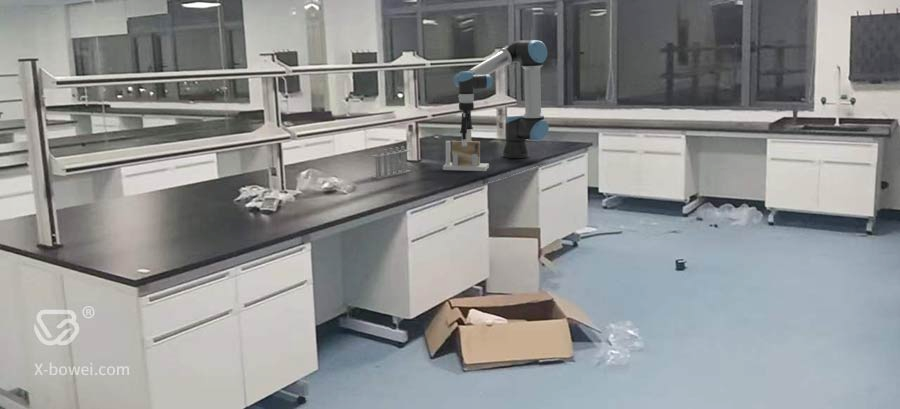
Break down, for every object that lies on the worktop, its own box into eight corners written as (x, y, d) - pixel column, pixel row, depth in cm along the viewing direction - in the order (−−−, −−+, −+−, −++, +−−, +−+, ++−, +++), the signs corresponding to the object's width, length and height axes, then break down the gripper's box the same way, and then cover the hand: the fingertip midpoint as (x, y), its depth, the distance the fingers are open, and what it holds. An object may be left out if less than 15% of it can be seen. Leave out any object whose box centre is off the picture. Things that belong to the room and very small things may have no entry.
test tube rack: (378, 179, 362) (377, 151, 359) (371, 178, 364) (370, 151, 362) (410, 171, 382) (410, 145, 379) (404, 171, 384) (403, 145, 382)
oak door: (453, 163, 393) (453, 140, 390) (479, 164, 390) (480, 141, 388) (451, 165, 389) (451, 141, 387) (478, 165, 387) (479, 142, 384)
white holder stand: (447, 166, 398) (447, 139, 395) (488, 167, 395) (489, 140, 392) (442, 169, 387) (442, 142, 384) (485, 171, 383) (485, 143, 380)
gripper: (463, 100, 396) (463, 140, 401) (454, 104, 372) (455, 147, 377) (477, 100, 395) (477, 140, 400) (469, 104, 371) (470, 147, 376)
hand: (466, 143), depth 388 cm, fingers open, 13 cm apart
